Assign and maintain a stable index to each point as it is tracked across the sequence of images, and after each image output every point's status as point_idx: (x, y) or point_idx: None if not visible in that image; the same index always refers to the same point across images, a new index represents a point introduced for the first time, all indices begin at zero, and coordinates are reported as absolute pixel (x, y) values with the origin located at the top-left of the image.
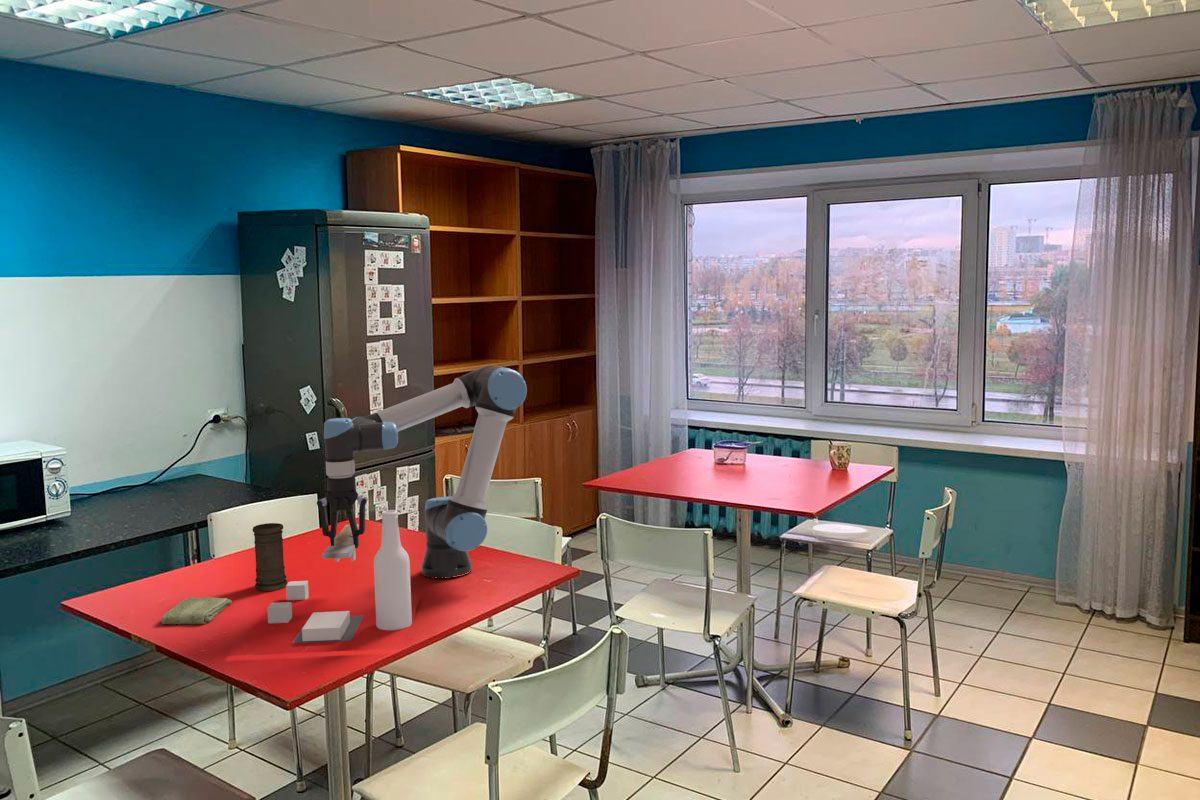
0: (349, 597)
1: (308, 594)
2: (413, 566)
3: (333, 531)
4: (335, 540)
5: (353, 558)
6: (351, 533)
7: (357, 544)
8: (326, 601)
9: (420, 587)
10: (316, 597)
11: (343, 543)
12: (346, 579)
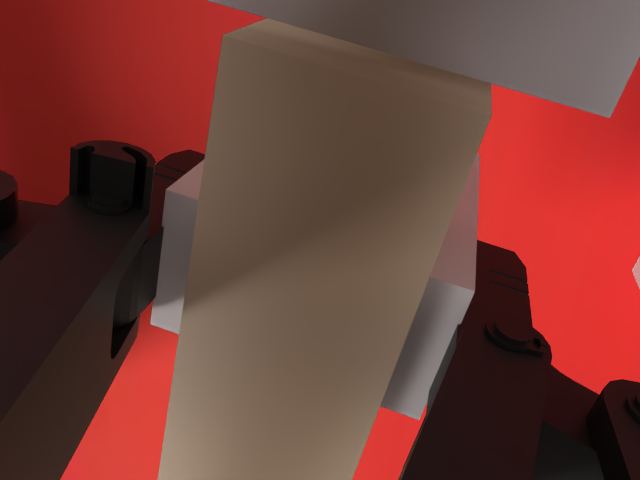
0: None
1: (638, 279)
2: (92, 472)
3: (473, 379)
4: (476, 106)
5: None
6: (178, 356)
7: (162, 164)
8: (540, 163)
9: (34, 183)
10: (582, 264)
11: (338, 45)
12: (377, 460)
